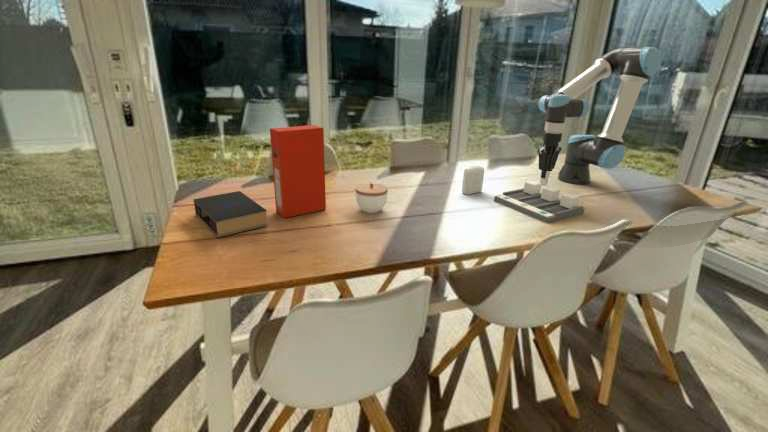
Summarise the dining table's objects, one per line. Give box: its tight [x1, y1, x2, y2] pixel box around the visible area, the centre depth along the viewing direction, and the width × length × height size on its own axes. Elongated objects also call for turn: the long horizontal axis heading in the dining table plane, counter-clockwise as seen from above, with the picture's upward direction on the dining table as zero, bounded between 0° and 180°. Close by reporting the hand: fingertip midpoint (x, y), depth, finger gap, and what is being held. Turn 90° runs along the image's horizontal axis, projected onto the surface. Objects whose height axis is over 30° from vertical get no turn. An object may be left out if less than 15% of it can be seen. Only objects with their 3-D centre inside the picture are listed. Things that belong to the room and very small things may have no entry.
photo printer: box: [461, 165, 485, 195], centre depth 184 cm, size 10×4×12 cm, turn 123°
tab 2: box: [560, 192, 581, 209], centre depth 165 cm, size 5×5×4 cm
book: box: [193, 190, 269, 238], centre depth 147 cm, size 17×25×7 cm
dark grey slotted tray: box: [493, 187, 586, 224], centre depth 170 cm, size 22×28×3 cm
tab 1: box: [523, 180, 543, 195], centre depth 180 cm, size 5×5×4 cm
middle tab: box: [541, 186, 561, 202], centre depth 173 cm, size 5×5×4 cm
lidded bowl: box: [354, 182, 389, 214], centre depth 160 cm, size 13×13×11 cm
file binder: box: [269, 124, 327, 219], centre depth 153 cm, size 8×17×32 cm, turn 126°
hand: (543, 184), depth 183 cm, fingers closed
